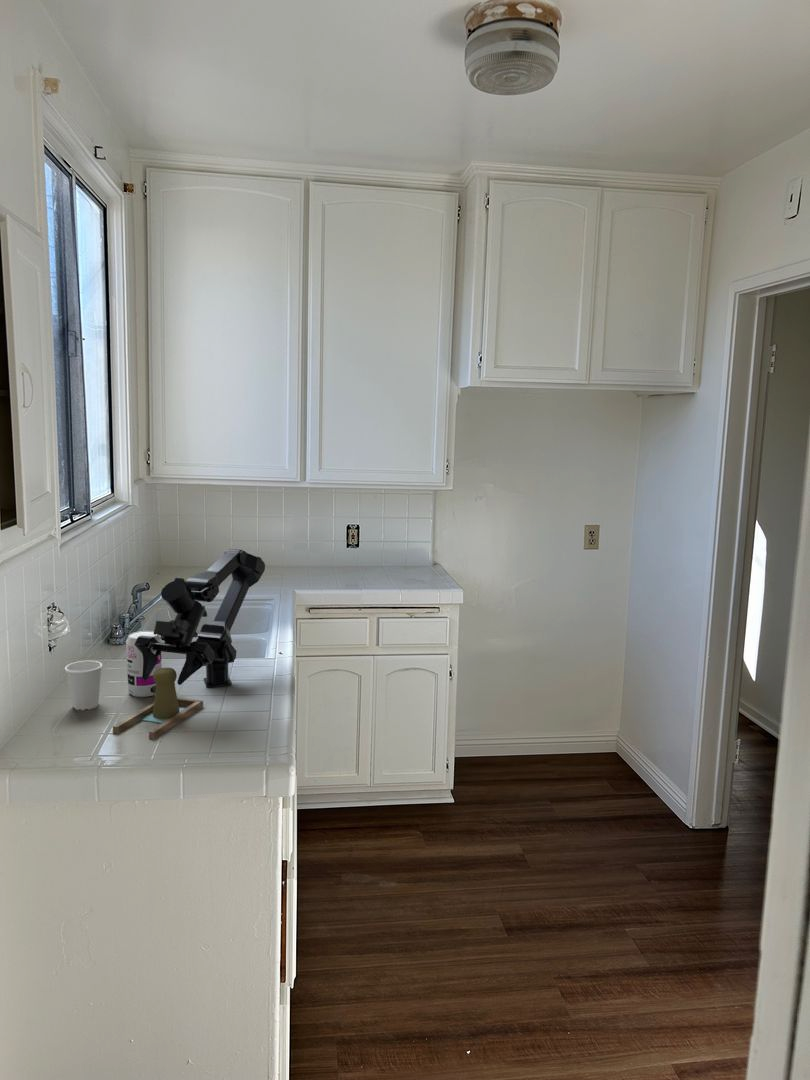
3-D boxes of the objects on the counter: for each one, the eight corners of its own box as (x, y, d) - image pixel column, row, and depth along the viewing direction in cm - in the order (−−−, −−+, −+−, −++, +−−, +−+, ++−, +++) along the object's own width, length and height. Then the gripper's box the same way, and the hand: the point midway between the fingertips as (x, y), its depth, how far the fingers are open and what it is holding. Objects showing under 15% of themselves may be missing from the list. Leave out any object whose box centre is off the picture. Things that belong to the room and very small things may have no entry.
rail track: (165, 701, 196) (165, 695, 196) (203, 706, 193) (202, 700, 193) (113, 732, 177) (112, 726, 177) (153, 738, 174) (153, 732, 174)
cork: (169, 707, 191) (168, 663, 190) (185, 713, 188) (183, 668, 186) (147, 714, 187) (145, 669, 185) (162, 721, 183) (161, 675, 181)
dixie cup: (90, 697, 198) (88, 658, 196) (111, 704, 194) (109, 664, 192) (59, 707, 191) (57, 667, 190) (81, 714, 187) (78, 673, 185)
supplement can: (168, 688, 205) (166, 631, 202) (150, 699, 197) (148, 640, 194) (141, 685, 207) (138, 628, 204) (121, 695, 199) (119, 637, 197)
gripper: (137, 602, 189) (109, 661, 181) (207, 609, 184) (182, 670, 175) (157, 626, 198) (132, 683, 189) (225, 633, 193) (202, 692, 184)
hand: (161, 681), depth 184 cm, fingers open, 9 cm apart
